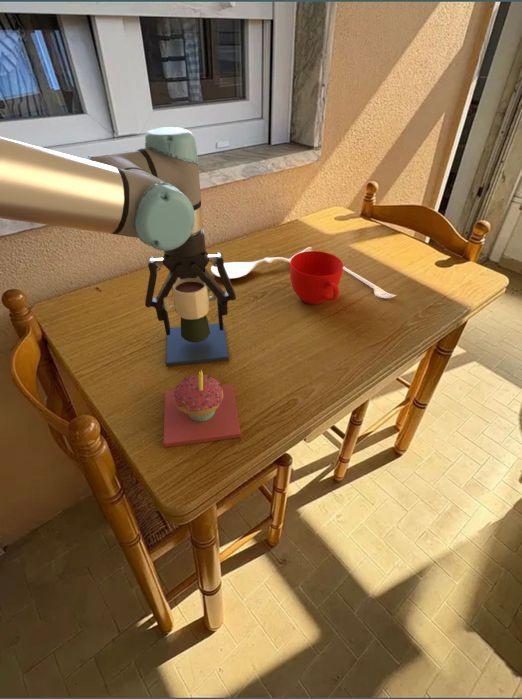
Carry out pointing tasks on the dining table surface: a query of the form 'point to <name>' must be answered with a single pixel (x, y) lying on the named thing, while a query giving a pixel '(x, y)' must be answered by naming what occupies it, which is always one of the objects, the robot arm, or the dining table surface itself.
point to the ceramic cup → (315, 276)
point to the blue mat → (196, 347)
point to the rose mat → (201, 422)
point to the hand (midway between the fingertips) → (194, 328)
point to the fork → (377, 290)
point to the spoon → (248, 266)
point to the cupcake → (198, 396)
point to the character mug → (191, 307)
